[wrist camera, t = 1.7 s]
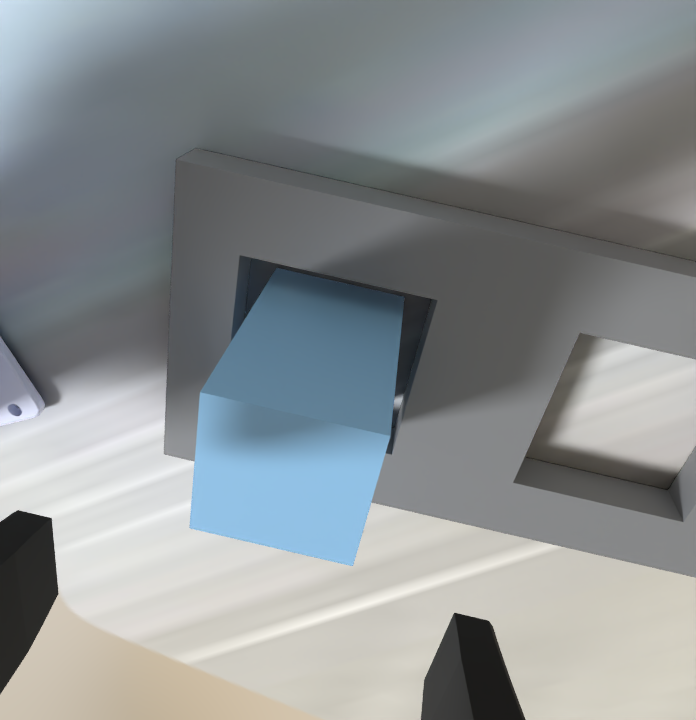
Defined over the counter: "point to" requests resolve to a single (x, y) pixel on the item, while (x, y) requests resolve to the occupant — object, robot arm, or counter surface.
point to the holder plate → (445, 343)
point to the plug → (299, 418)
